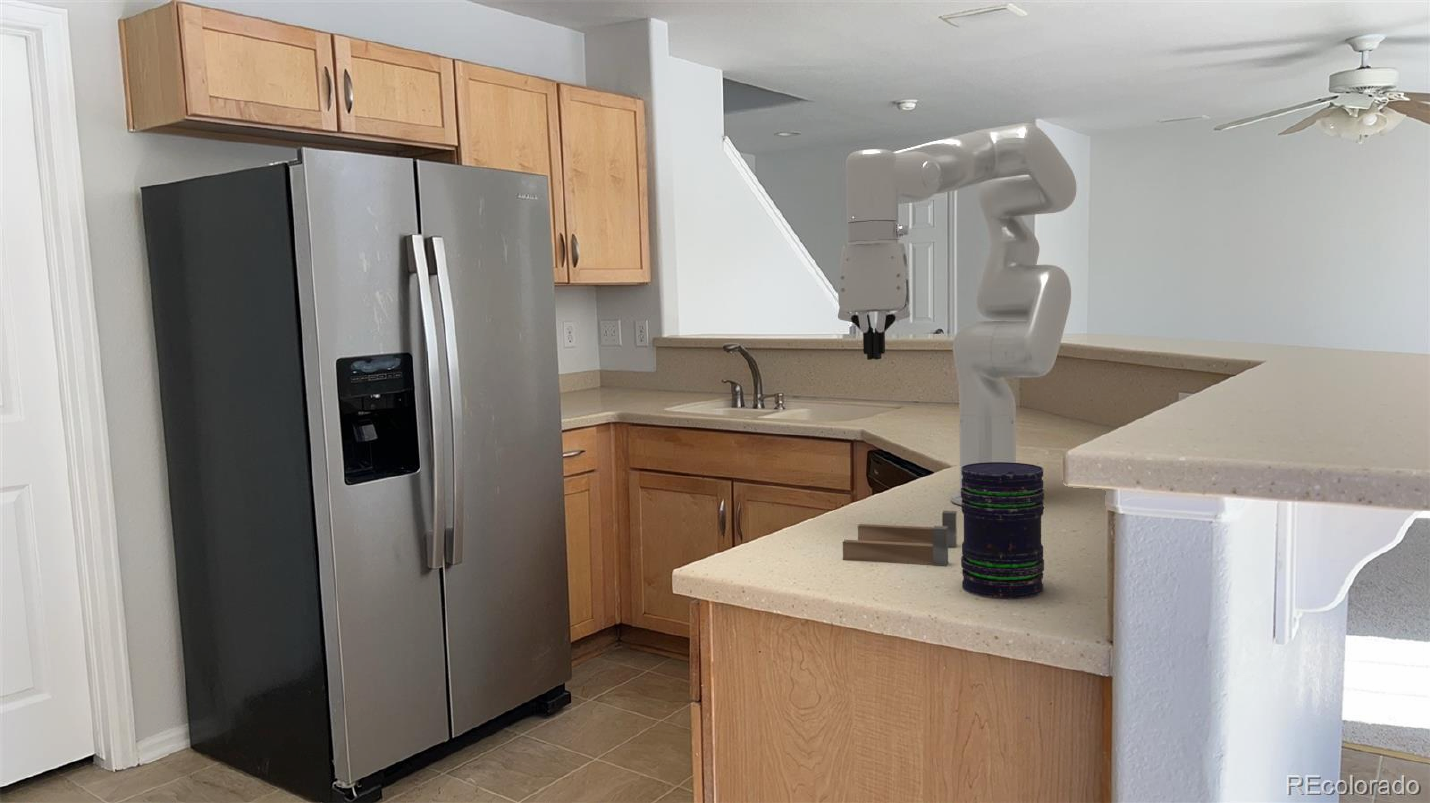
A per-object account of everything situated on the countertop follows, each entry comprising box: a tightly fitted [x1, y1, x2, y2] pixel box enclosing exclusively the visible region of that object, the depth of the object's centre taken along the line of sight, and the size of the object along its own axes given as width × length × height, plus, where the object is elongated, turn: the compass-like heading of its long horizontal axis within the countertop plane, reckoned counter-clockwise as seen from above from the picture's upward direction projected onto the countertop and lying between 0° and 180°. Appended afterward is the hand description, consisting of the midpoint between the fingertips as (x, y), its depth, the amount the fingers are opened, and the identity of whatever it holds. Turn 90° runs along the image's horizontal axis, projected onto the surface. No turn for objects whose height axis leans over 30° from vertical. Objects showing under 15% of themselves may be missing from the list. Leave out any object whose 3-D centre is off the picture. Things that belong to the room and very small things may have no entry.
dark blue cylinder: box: [960, 462, 1045, 600], centre depth 124 cm, size 10×10×15 cm
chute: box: [842, 510, 958, 567], centre depth 143 cm, size 12×14×5 cm
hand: (874, 358), depth 151 cm, fingers closed
